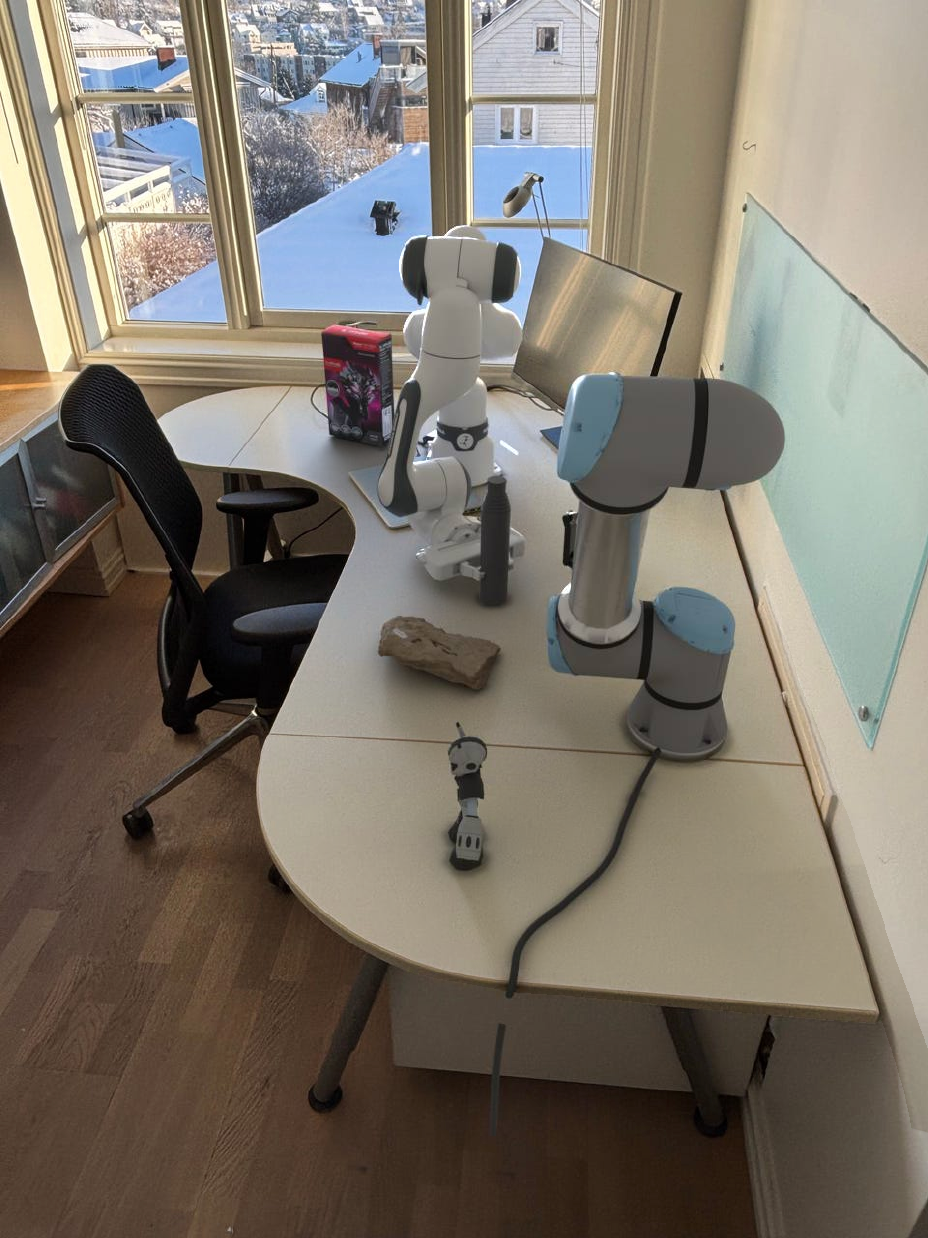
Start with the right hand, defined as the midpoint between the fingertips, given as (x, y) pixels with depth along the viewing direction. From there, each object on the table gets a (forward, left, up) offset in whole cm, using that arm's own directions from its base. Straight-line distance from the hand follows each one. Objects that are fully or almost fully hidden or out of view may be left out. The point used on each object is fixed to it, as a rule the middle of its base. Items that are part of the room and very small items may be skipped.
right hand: (592, 605), depth 165 cm
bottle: (+3, +19, -4) cm, 20 cm away
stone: (-20, +24, -4) cm, 31 cm away
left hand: (+2, +18, +3) cm, 19 cm away
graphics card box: (+68, +70, -4) cm, 98 cm away
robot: (-58, +8, -4) cm, 58 cm away
